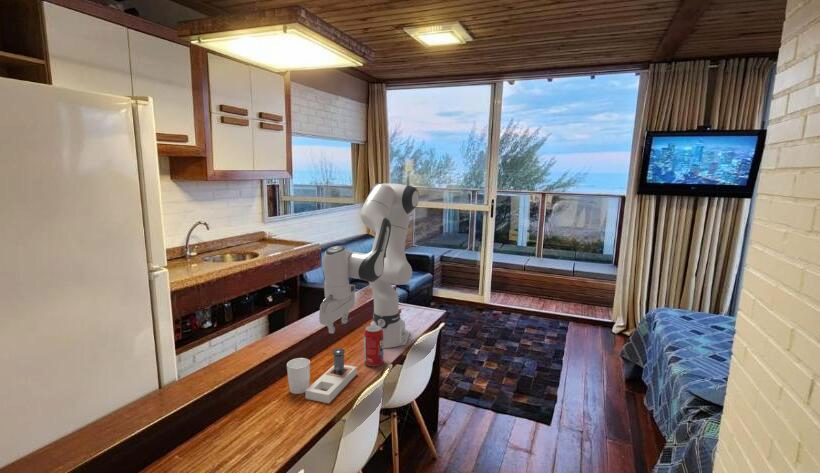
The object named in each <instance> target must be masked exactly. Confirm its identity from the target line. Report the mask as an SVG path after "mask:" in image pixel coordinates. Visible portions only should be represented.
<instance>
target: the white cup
mask: <svg viewBox="0 0 820 473" xmlns="http://www.w3.org/2000/svg"><path fill="white" fill-rule="evenodd" d="M286 370H287V381H288V385H289V386H288V387H289V392H290V393H291V394H293V395H301V394H304V393H305V390H306V389H308V388H309V387H310V379H311V378H310V377H311V376H310V375H311V361H310V359H308V358H305V357H297V358H293V359H291V360H289V361H288V362H287V363H286Z"/></svg>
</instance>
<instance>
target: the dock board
mask: <svg viewBox="0 0 820 473" xmlns="http://www.w3.org/2000/svg"><path fill="white" fill-rule="evenodd" d="M357 370H358V368H357V366H354V365H347V364H344V374H343V375H336V374H334V364H333V365H332V366H331V367H330V368H329V369H328V370H327V371H325V372H324V373H323V374H322V375H320V376H319V378H317V379H316V380H315V381H313V383H312V384H311V385H309V388H308V389H306V390H305V399H306V400H311V401H316V402H321V403H325V404H330V403H331V402H332V401H333V400H334V399H335V398H336V397H337V396H338V394H339V393H341V392H342V390H343V389H345V387H346V386H347V385H348V384H349V383H350V382H351V381H352V380H353V379H354V378H355V377H356V376H357V373H358V371H357Z"/></svg>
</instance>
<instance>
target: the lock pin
mask: <svg viewBox="0 0 820 473" xmlns="http://www.w3.org/2000/svg"><path fill="white" fill-rule="evenodd" d="M345 354H346V350H345V349H344V348H340V347H338V348H334V349H332V355H333V365H334V374H336V375H343V374H344V365H345V357H344V356H345Z"/></svg>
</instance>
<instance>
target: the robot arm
mask: <svg viewBox="0 0 820 473" xmlns="http://www.w3.org/2000/svg"><path fill="white" fill-rule="evenodd" d="M419 199H420V195H419V190H418V189H417V187H414V186H412V185H406V184H401V183H396V182H395V183H391V182H389V183H383V182H378V183H377V182H376V183H375V184H373V185H372V186H371V188H370V190H369V194H368V196H367V198H366V199H365V201H364V203H363V205H362V206H361V209H360V219H361V222H362V223H363V224H364V225H365V227H366V228H368V229H370V230H371V231H372V232H374V233H375V237H374V239H373V240H374V241H373V244H372V248H371V250H370V251H369V252H367V253H363V252H357V251H352V250H349V249H347V247H346V246H345V245H335V246H334V245H333V246H330V247H327V249H325V251H324V255H323V267H322V268H323V275H324V282H323V283H324V284H323V288H324V297H325V298H324V299H323V300H322V302H321V303H320V306H319V313H318V314H319V317H318V318H319V320H318V321H319V324H320V325H321V326H322V325H323V326H326V327H327V329H328V334H334V333H335V332H336V327H334V324H335V323H334V322H336V321H337V320H338V319H340V318H341V317H342V318H341V324H343V325H344V324H347V323H348V318H349V315H350V311H351V310H352V309H353V308H354V307H355V304H356V299H355V298H356V294H355V291H356V285H355V284H350V280H349V278H353V279H356V280H358V279H359V280H362V281H365V282H368V283H369V286H370V288H371V291H372V297H373V312H372V321H371V322H370V326H371V325H378V326H380V327H381V328H382V330H383V348H384V349H390V348H396V347H399V346H406V345H407V344H408V340H409V337H410V333H411V330H410V329H407V328H406V322H405V321H404V320H403V319H402V318H401V314H402V308H399V307H400V306H399V302H400V301H399V300H400V299H399V294H398V293H397V291H396V290H395V289H394V287H393V286H392V285H395V286H397V285H398V286H400V285H401V286H402V285H407V284H408V283H409V282H410V281H411V279H412V277H413V268H412V266H411V264H410V263H409V262H408V260H407V257H406V250H405V246H406V240H407V234H408V230H409V226H410V213H411V212H412V211H414V210H415V209H416V208H417V206H418V203H419V202H420V201H419Z"/></svg>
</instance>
